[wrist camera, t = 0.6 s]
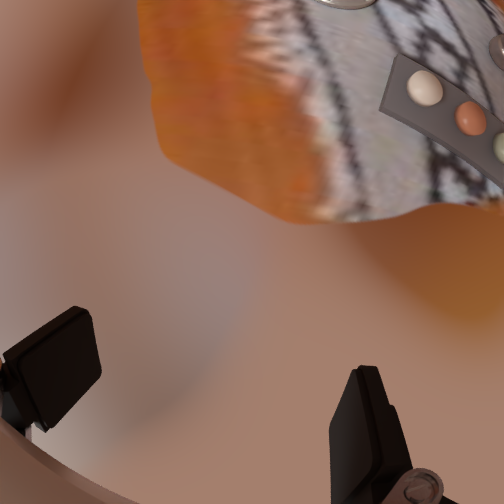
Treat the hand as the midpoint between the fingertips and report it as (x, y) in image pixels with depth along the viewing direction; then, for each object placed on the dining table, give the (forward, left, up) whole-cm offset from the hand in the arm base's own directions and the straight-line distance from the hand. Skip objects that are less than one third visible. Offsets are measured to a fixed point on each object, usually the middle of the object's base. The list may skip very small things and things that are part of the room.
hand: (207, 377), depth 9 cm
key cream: (-24, +11, -27) cm, 38 cm away
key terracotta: (-24, +19, -27) cm, 41 cm away
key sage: (-24, +26, -26) cm, 44 cm away
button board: (-24, +19, -29) cm, 42 cm away
